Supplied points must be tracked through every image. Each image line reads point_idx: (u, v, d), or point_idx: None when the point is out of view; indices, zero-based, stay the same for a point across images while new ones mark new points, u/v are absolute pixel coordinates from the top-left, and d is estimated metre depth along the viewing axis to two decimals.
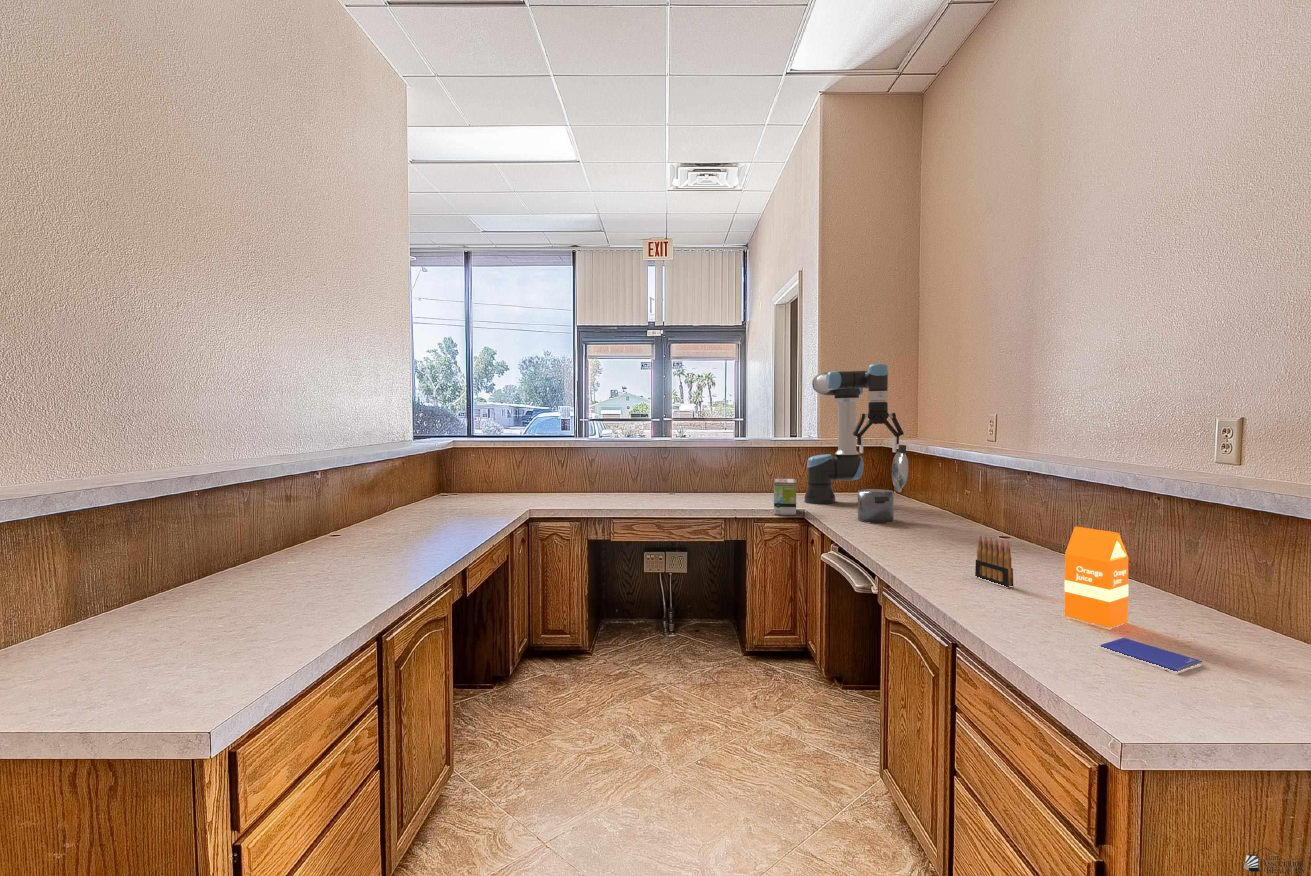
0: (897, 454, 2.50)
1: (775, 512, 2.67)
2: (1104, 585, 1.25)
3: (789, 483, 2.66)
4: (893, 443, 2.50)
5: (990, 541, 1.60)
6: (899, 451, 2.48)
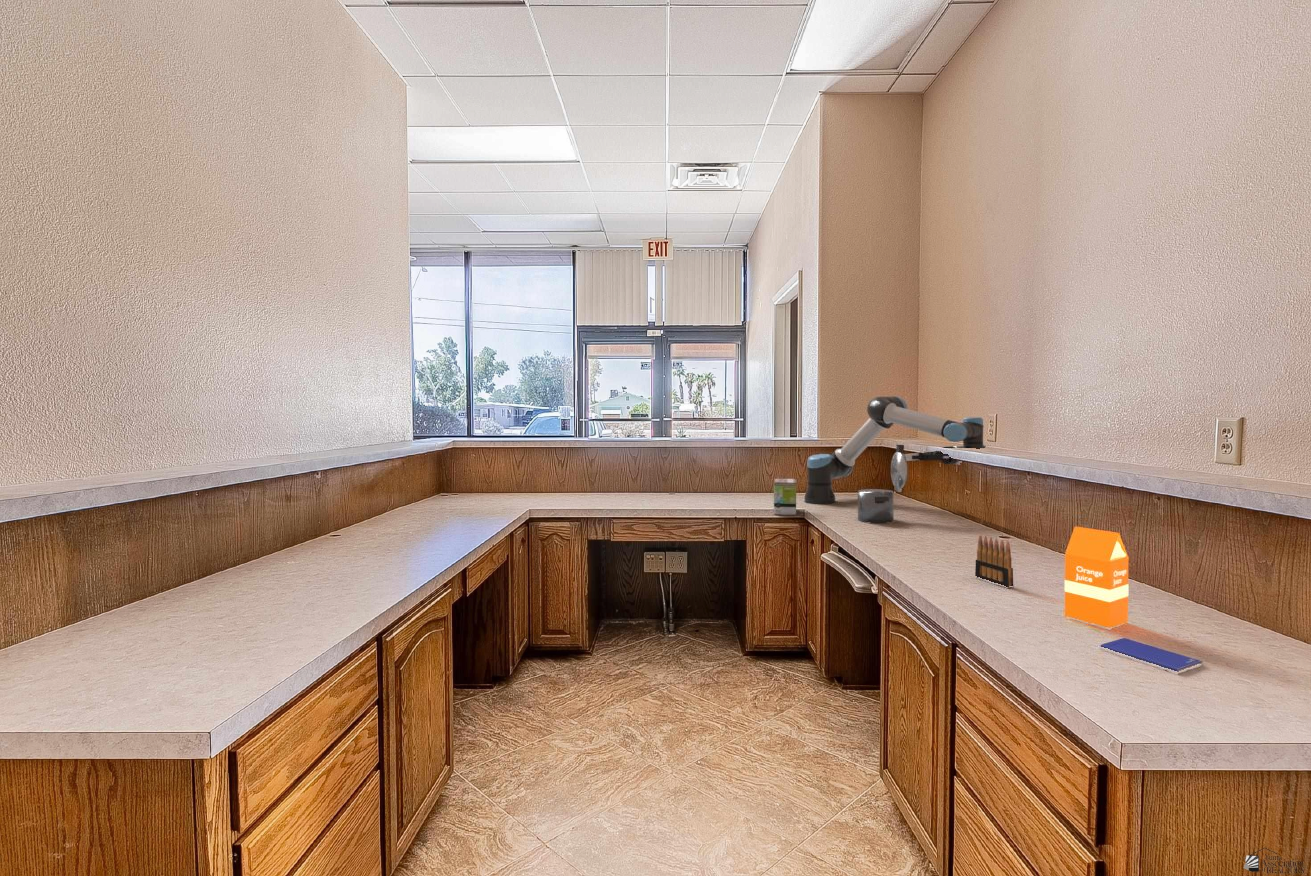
0: (895, 454, 2.50)
1: (775, 512, 2.67)
2: (1104, 585, 1.25)
3: (789, 483, 2.66)
4: None
5: (990, 541, 1.60)
6: (897, 451, 2.48)
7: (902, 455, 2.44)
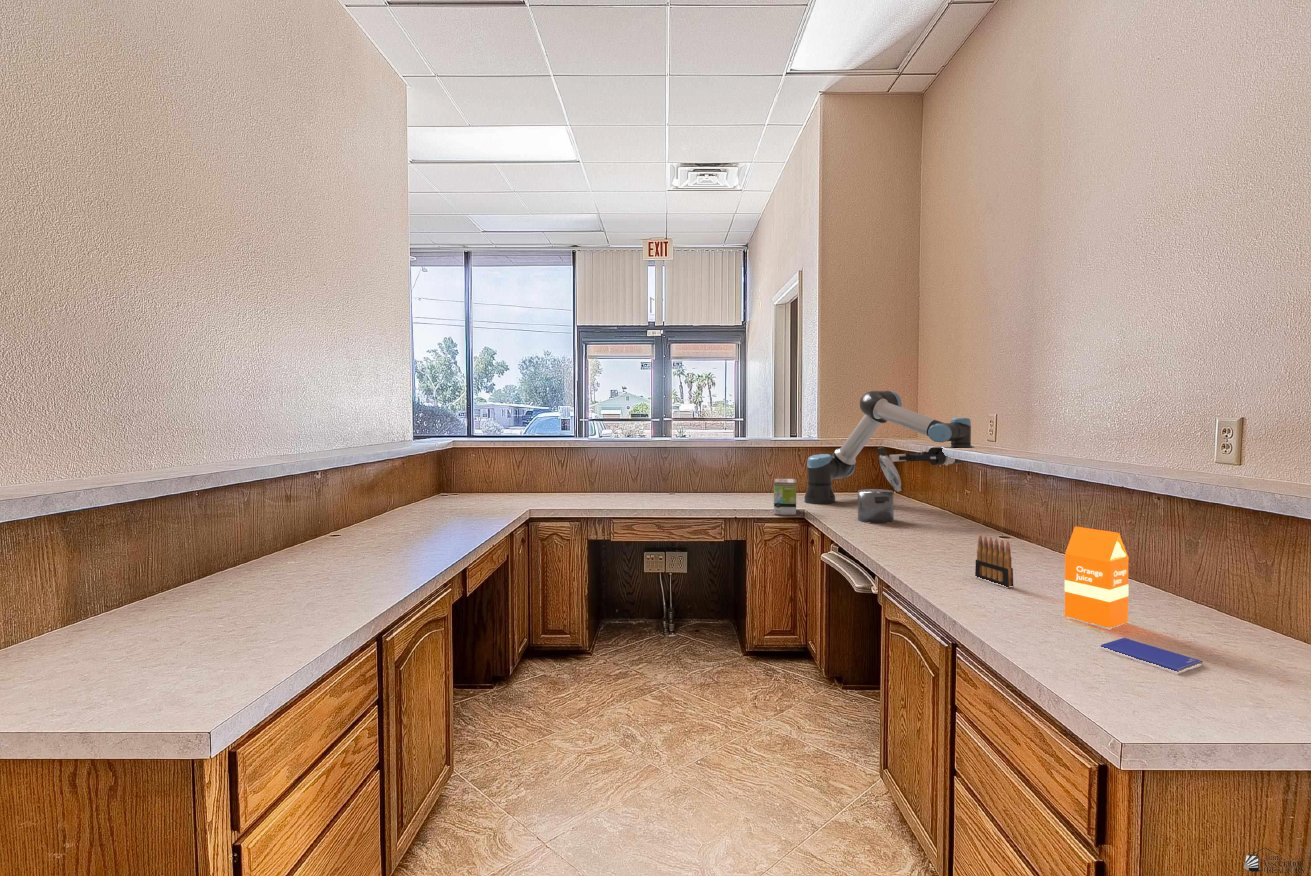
0: (880, 457, 2.50)
1: (775, 512, 2.67)
2: (1104, 585, 1.25)
3: (789, 483, 2.66)
4: None
5: (990, 541, 1.60)
6: (880, 454, 2.48)
7: (886, 457, 2.44)
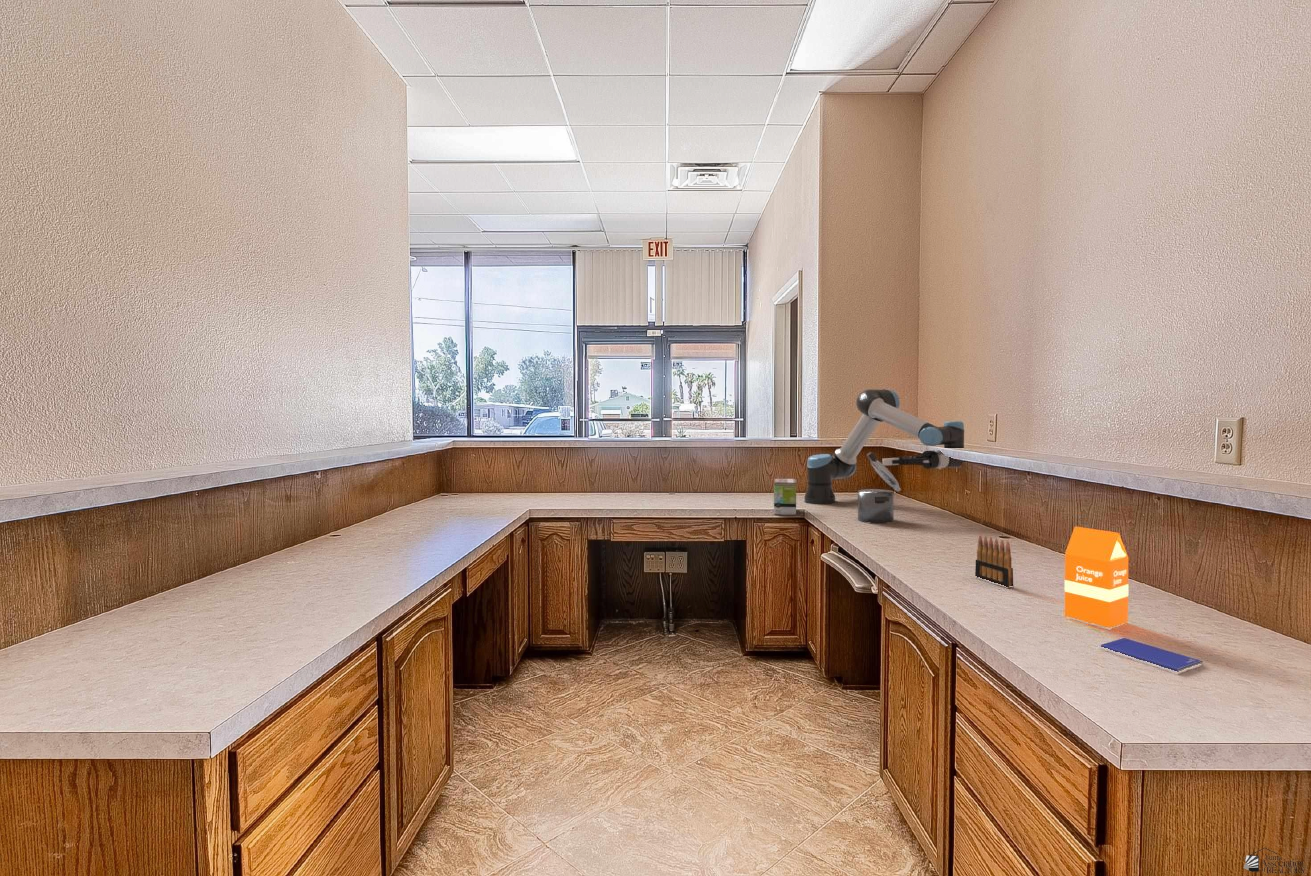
0: (871, 462, 2.50)
1: (775, 512, 2.67)
2: (1104, 585, 1.25)
3: (789, 483, 2.66)
4: None
5: (990, 541, 1.60)
6: (871, 460, 2.48)
7: (877, 462, 2.44)
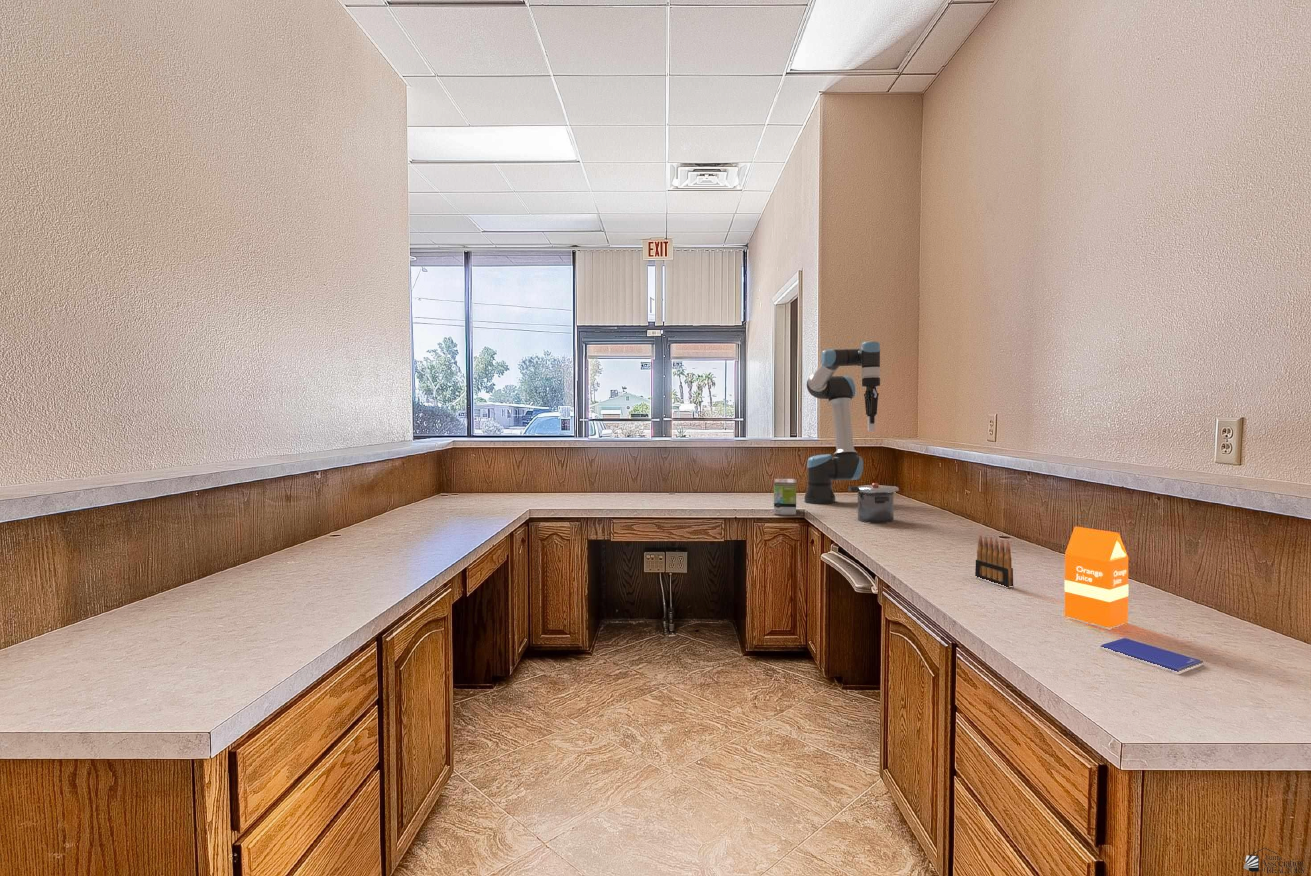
0: None
1: (775, 512, 2.67)
2: (1104, 585, 1.25)
3: (789, 483, 2.66)
4: None
5: (990, 541, 1.60)
6: None
7: (862, 490, 2.45)
